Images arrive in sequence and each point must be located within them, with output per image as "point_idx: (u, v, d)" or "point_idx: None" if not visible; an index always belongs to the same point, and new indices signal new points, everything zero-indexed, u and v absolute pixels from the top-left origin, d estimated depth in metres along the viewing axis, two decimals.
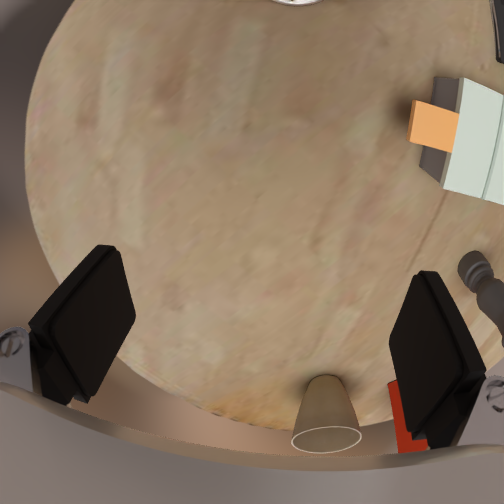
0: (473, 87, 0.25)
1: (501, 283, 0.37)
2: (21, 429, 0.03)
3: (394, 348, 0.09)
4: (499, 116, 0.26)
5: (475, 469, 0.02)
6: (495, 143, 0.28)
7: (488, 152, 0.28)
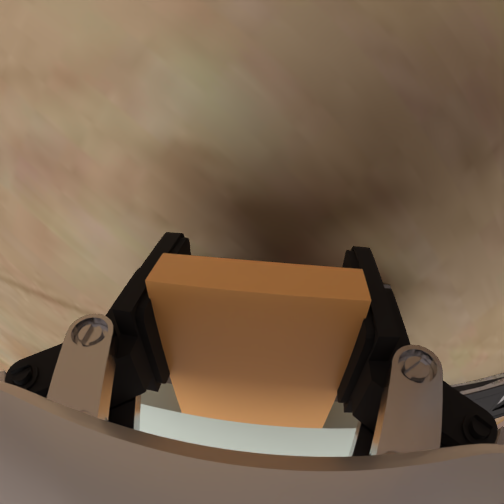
0: None
1: None
2: (21, 429, 0.03)
3: None
4: None
5: (475, 469, 0.02)
6: None
7: None
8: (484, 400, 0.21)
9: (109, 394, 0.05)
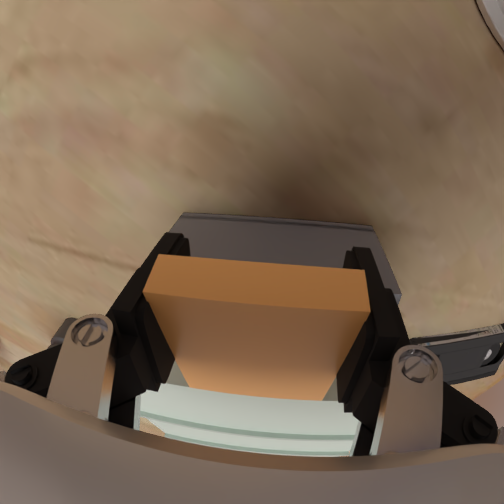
0: None
1: None
2: (21, 429, 0.03)
3: None
4: (330, 434, 0.15)
5: (475, 469, 0.02)
6: (264, 432, 0.15)
7: (238, 426, 0.15)
8: (470, 352, 0.26)
9: (109, 394, 0.05)
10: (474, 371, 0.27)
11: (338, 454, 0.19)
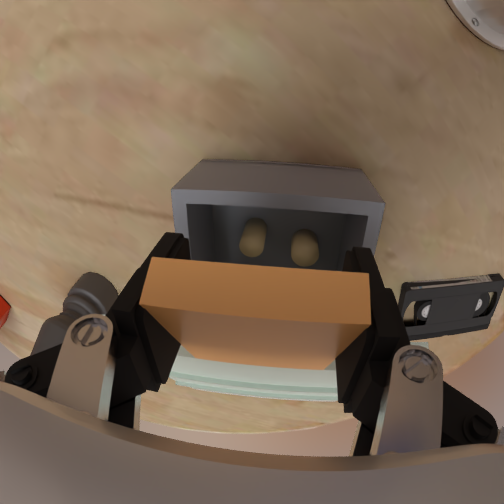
0: None
1: None
2: (21, 429, 0.03)
3: None
4: (333, 387, 0.17)
5: (475, 469, 0.02)
6: (270, 384, 0.17)
7: (245, 380, 0.16)
8: (461, 299, 0.29)
9: (109, 394, 0.05)
10: (467, 322, 0.31)
11: None
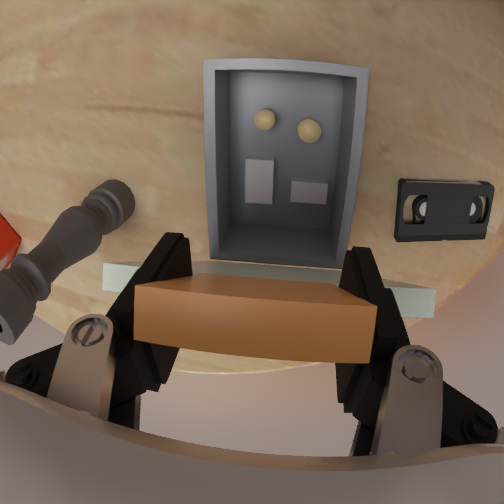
0: None
1: (96, 236, 0.31)
2: (21, 429, 0.03)
3: None
4: None
5: (475, 469, 0.02)
6: None
7: None
8: (455, 200, 0.32)
9: (109, 394, 0.05)
10: (464, 227, 0.34)
11: None
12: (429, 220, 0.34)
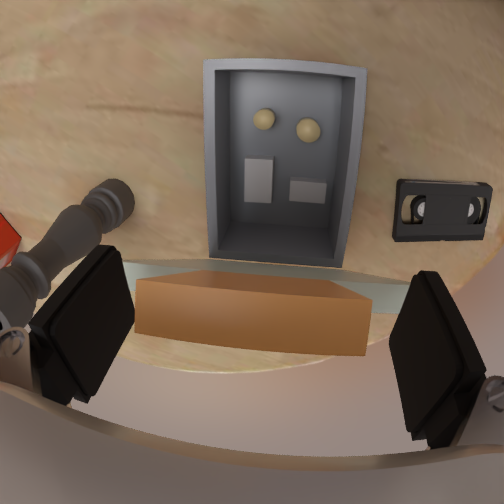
0: None
1: (96, 235, 0.31)
2: (21, 429, 0.03)
3: (394, 348, 0.09)
4: None
5: (475, 469, 0.02)
6: None
7: None
8: (453, 200, 0.32)
9: (40, 393, 0.05)
10: (462, 228, 0.34)
11: None
12: (427, 220, 0.34)
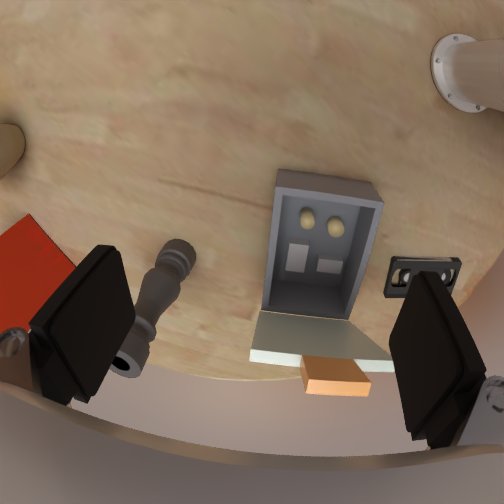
0: None
1: (178, 291, 0.46)
2: (21, 429, 0.03)
3: (394, 348, 0.09)
4: None
5: (475, 469, 0.02)
6: None
7: None
8: None
9: (40, 393, 0.05)
10: None
11: None
12: None
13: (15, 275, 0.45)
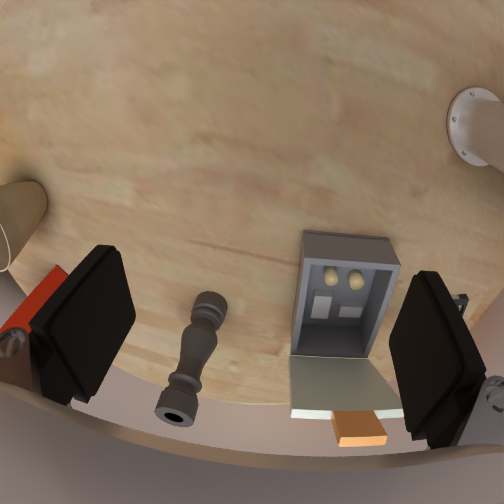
0: None
1: (216, 344, 0.50)
2: (21, 429, 0.03)
3: (394, 348, 0.09)
4: None
5: (475, 469, 0.02)
6: None
7: None
8: None
9: (40, 393, 0.05)
10: None
11: None
12: None
13: None
